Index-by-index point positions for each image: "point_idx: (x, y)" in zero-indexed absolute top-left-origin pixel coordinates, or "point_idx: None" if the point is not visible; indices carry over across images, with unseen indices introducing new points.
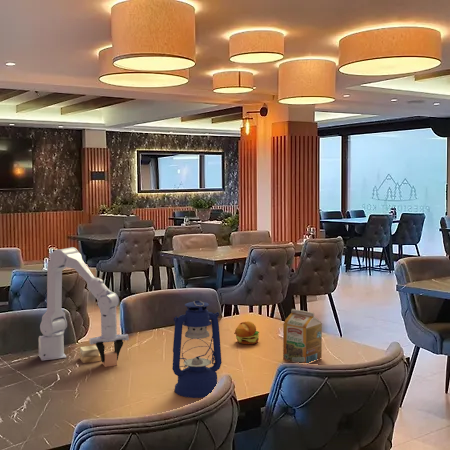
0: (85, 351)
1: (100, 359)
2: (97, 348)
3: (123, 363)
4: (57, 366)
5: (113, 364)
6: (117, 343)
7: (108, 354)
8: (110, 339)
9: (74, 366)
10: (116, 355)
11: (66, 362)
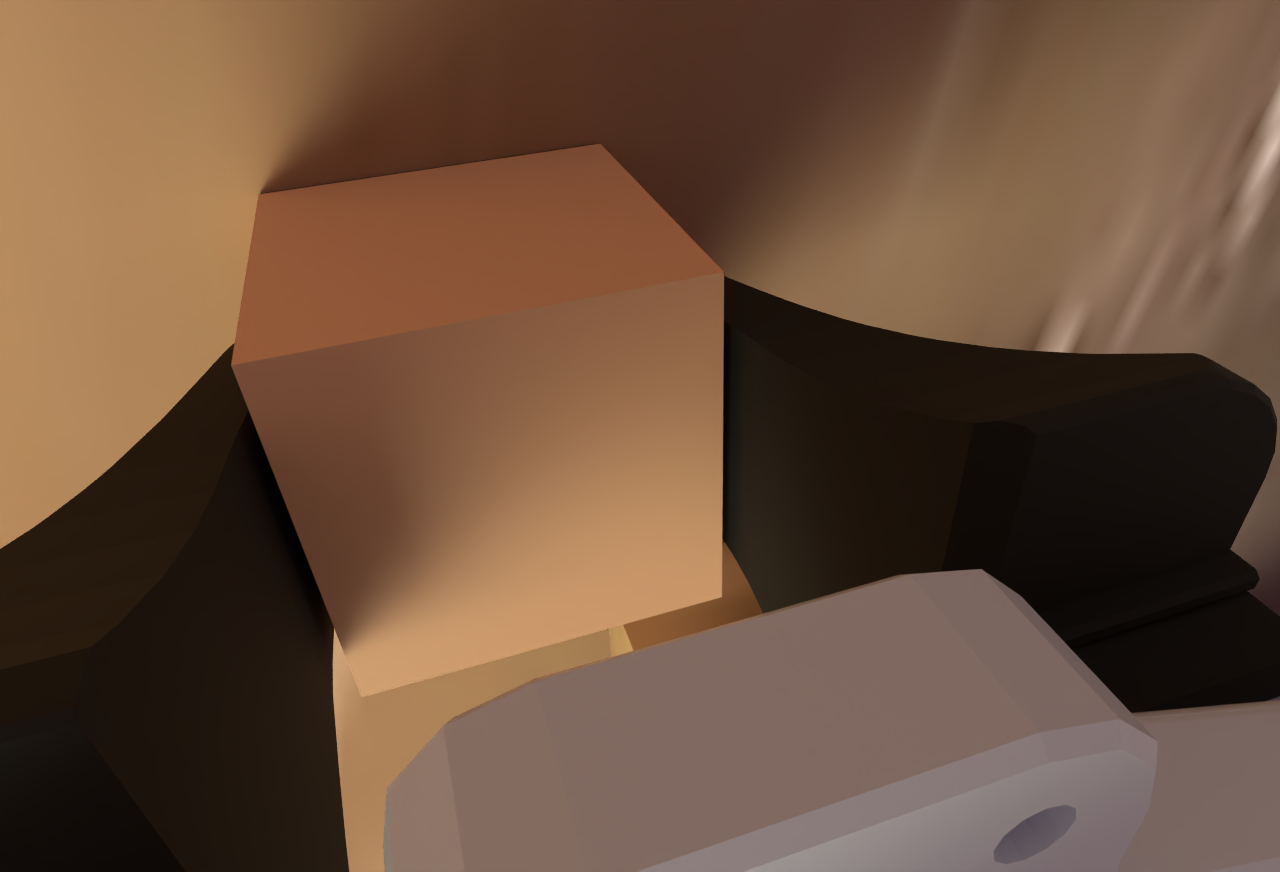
0: None
1: None
2: None
3: (56, 314)
4: (1275, 405)
5: (371, 186)
6: (87, 706)
7: (591, 310)
8: (1041, 745)
9: (1106, 349)
10: (256, 322)
11: None
